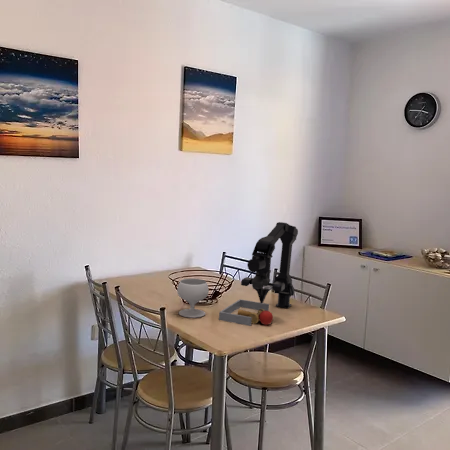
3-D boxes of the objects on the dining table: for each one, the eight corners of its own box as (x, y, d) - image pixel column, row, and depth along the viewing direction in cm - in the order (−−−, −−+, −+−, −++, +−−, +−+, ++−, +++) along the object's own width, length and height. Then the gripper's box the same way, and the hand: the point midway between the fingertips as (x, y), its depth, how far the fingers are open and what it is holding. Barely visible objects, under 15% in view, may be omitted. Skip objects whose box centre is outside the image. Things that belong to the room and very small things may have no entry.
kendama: (233, 320, 205) (265, 325, 193) (233, 306, 206) (266, 310, 194) (244, 320, 211) (276, 325, 199) (244, 306, 212) (277, 310, 200)
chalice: (207, 309, 215) (208, 278, 213) (207, 319, 201) (209, 286, 199) (177, 308, 214) (178, 277, 212) (175, 318, 200) (176, 284, 199)
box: (239, 306, 223) (239, 299, 222) (268, 311, 217) (269, 304, 217) (218, 319, 201) (219, 312, 201) (250, 325, 196) (251, 317, 195)
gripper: (237, 268, 200) (235, 304, 201) (278, 274, 192) (276, 311, 194) (246, 264, 210) (244, 298, 212) (286, 270, 202) (284, 304, 204)
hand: (261, 302), depth 205 cm, fingers closed
